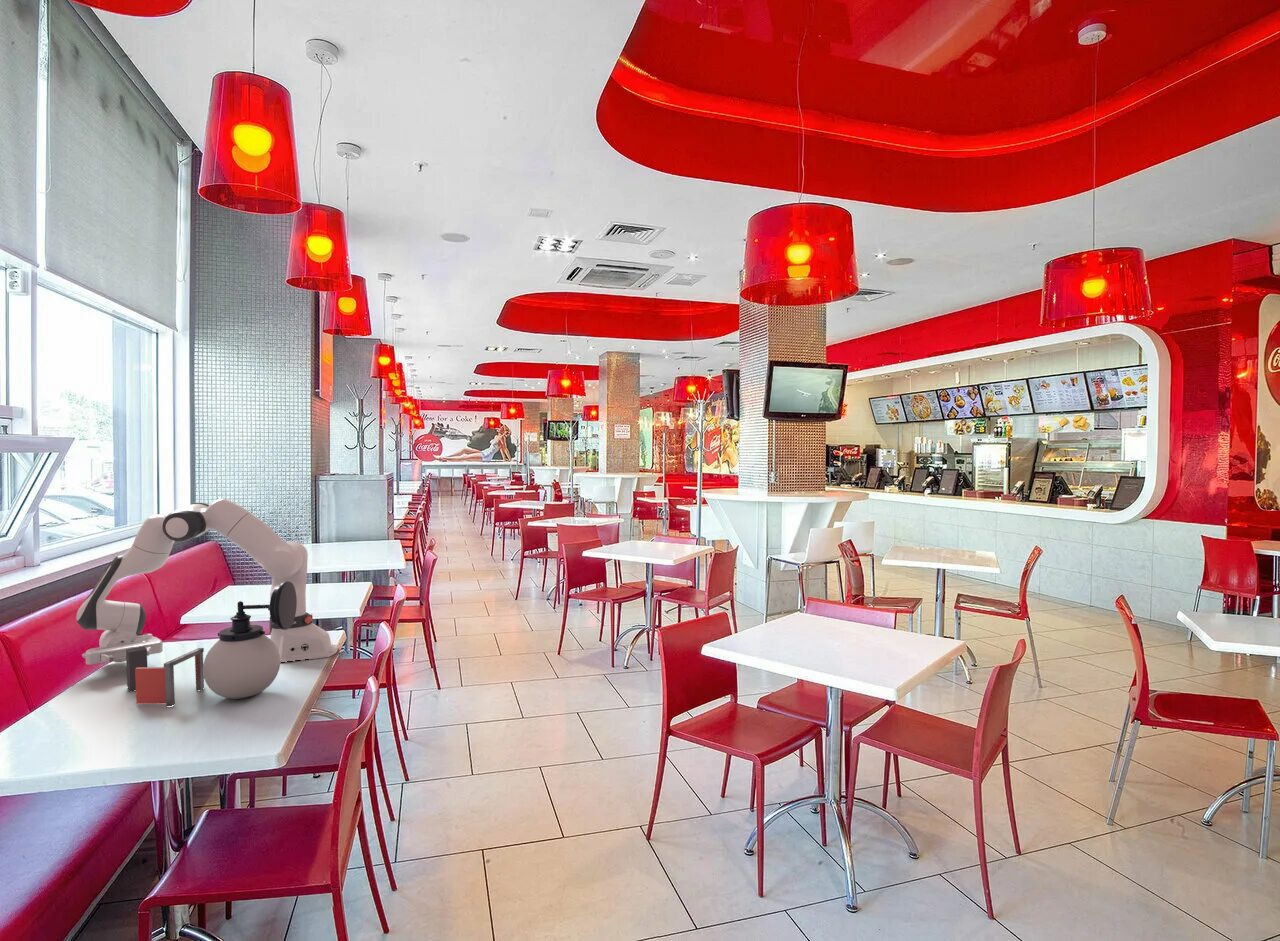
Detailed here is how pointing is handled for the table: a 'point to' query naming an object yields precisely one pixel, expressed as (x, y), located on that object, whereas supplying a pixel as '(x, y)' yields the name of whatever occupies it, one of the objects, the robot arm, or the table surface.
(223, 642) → the light fixture
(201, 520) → the robot arm
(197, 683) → the frame
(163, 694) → the red square panel
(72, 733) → the table surface
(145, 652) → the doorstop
